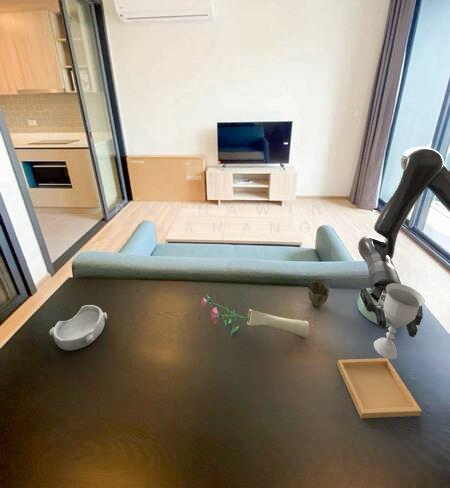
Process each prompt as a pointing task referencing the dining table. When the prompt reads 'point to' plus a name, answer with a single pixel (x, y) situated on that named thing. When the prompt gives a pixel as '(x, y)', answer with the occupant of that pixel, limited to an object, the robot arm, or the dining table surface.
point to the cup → (317, 293)
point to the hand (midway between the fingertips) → (398, 329)
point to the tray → (377, 388)
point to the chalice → (397, 315)
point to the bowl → (367, 314)
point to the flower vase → (263, 320)
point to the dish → (79, 328)
